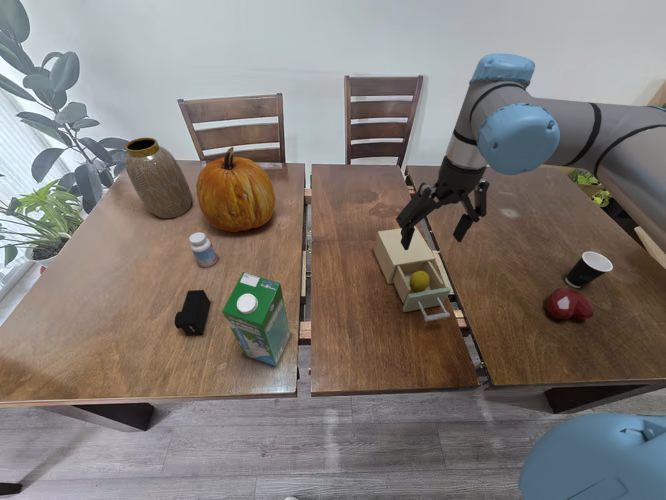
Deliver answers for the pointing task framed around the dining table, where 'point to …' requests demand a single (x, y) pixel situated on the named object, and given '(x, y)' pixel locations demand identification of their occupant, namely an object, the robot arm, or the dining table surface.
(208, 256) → the pill bottle
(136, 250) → the dining table surface
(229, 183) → the pumpkin
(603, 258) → the dixie cup
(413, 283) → the lemon
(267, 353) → the milk carton
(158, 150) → the vase
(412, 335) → the dining table surface
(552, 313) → the heart
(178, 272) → the dining table surface
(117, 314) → the dining table surface
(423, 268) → the drawer
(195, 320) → the digital camera
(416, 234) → the cabinet
